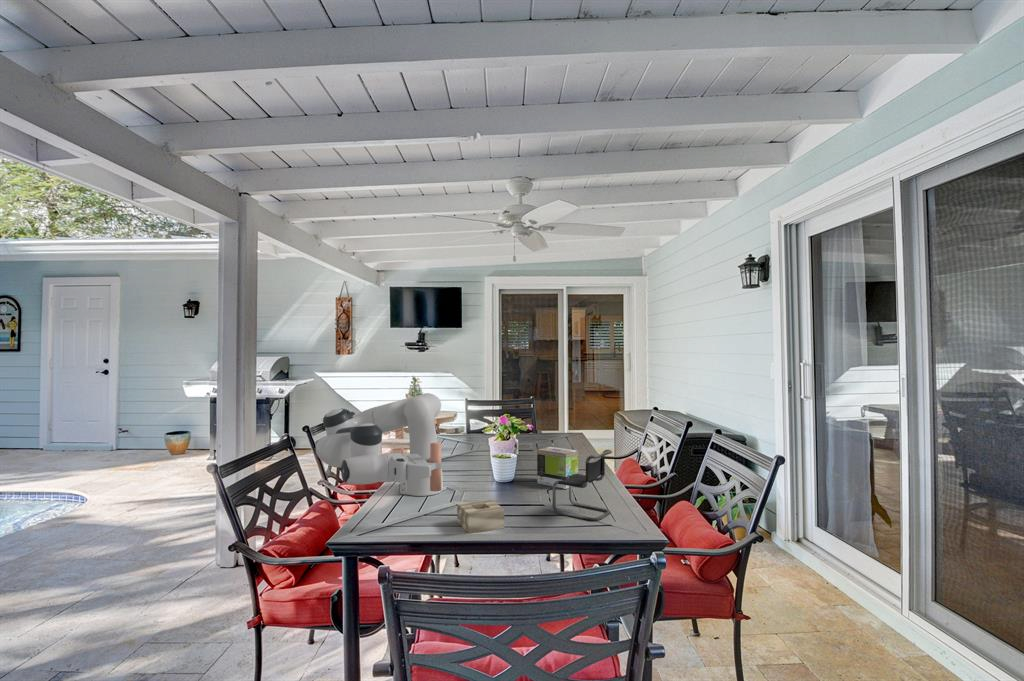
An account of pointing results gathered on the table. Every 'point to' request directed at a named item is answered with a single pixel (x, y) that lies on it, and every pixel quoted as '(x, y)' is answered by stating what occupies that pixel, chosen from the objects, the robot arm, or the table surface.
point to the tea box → (556, 465)
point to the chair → (584, 485)
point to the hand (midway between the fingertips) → (438, 463)
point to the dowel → (436, 473)
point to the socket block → (480, 516)
